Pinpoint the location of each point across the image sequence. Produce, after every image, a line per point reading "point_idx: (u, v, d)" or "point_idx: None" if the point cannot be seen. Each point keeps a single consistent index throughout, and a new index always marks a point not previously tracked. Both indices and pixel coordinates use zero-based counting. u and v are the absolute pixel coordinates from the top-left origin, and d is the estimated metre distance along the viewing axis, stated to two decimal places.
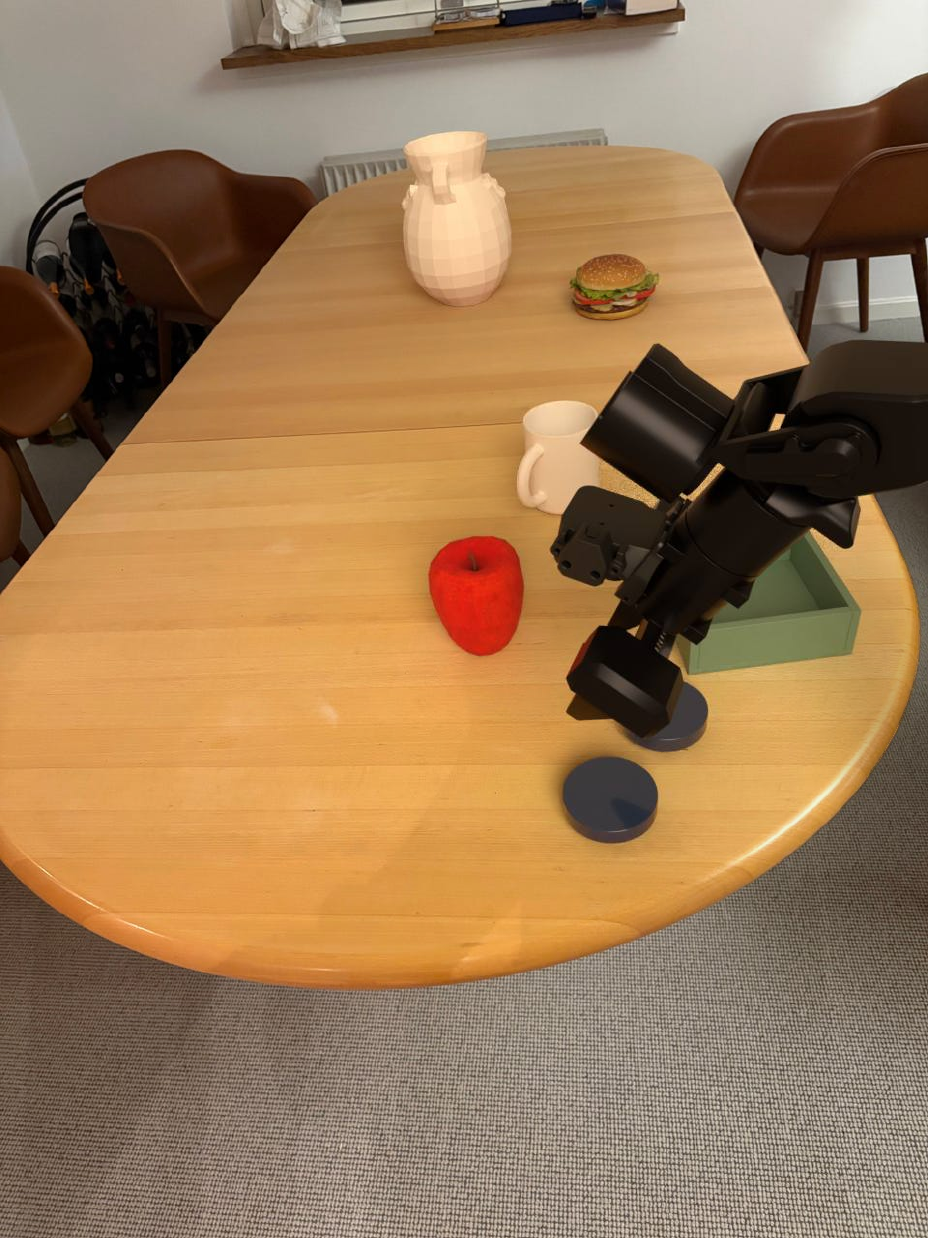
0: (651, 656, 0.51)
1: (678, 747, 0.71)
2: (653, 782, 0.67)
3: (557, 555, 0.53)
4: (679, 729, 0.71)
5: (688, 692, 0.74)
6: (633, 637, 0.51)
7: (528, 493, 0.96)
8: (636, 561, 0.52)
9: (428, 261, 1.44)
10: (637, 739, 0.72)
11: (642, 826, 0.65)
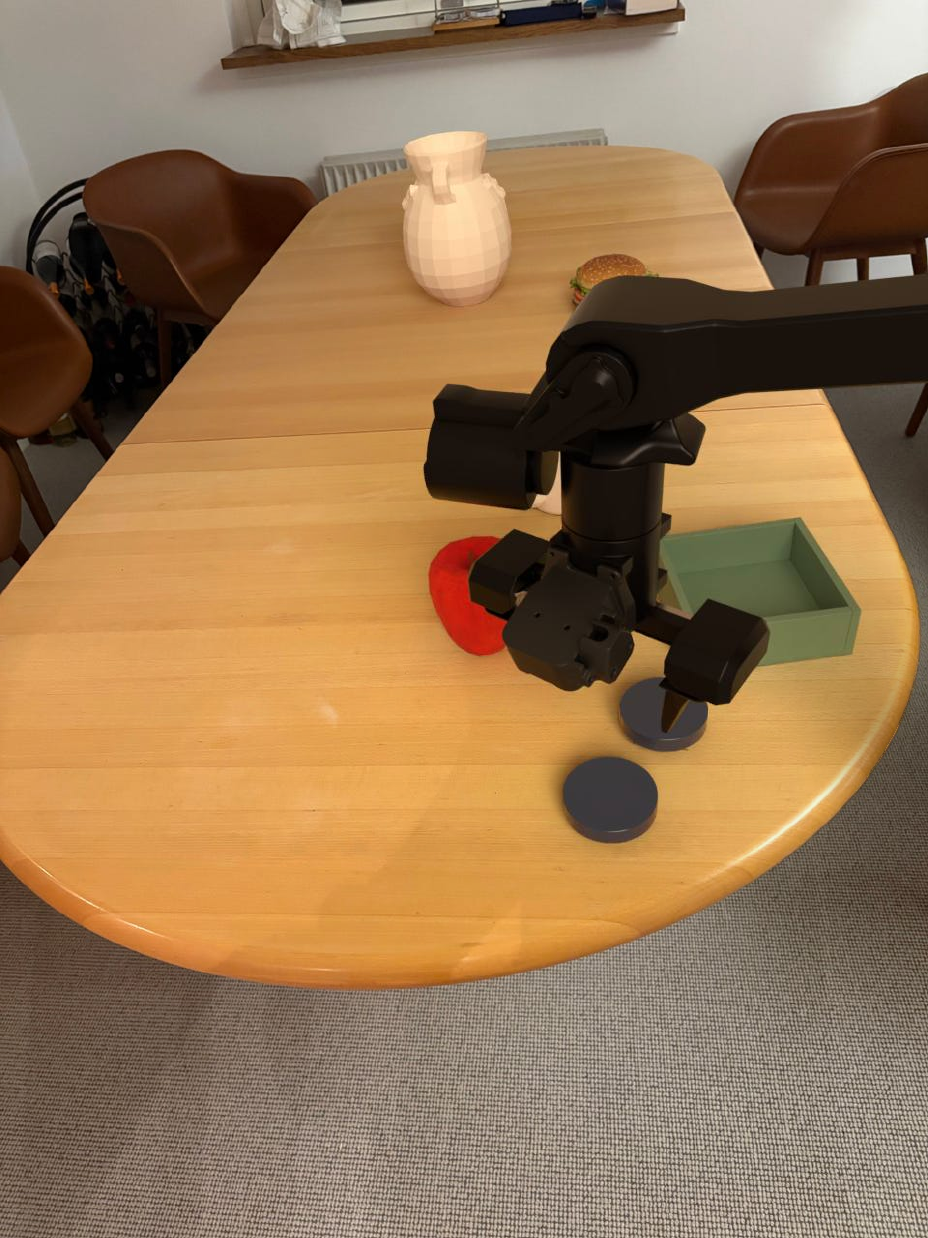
0: (702, 619, 0.51)
1: (678, 747, 0.71)
2: (653, 782, 0.67)
3: (593, 681, 0.48)
4: (679, 729, 0.71)
5: None
6: (683, 630, 0.51)
7: None
8: (614, 604, 0.50)
9: (428, 261, 1.44)
10: (637, 739, 0.72)
11: (643, 826, 0.65)
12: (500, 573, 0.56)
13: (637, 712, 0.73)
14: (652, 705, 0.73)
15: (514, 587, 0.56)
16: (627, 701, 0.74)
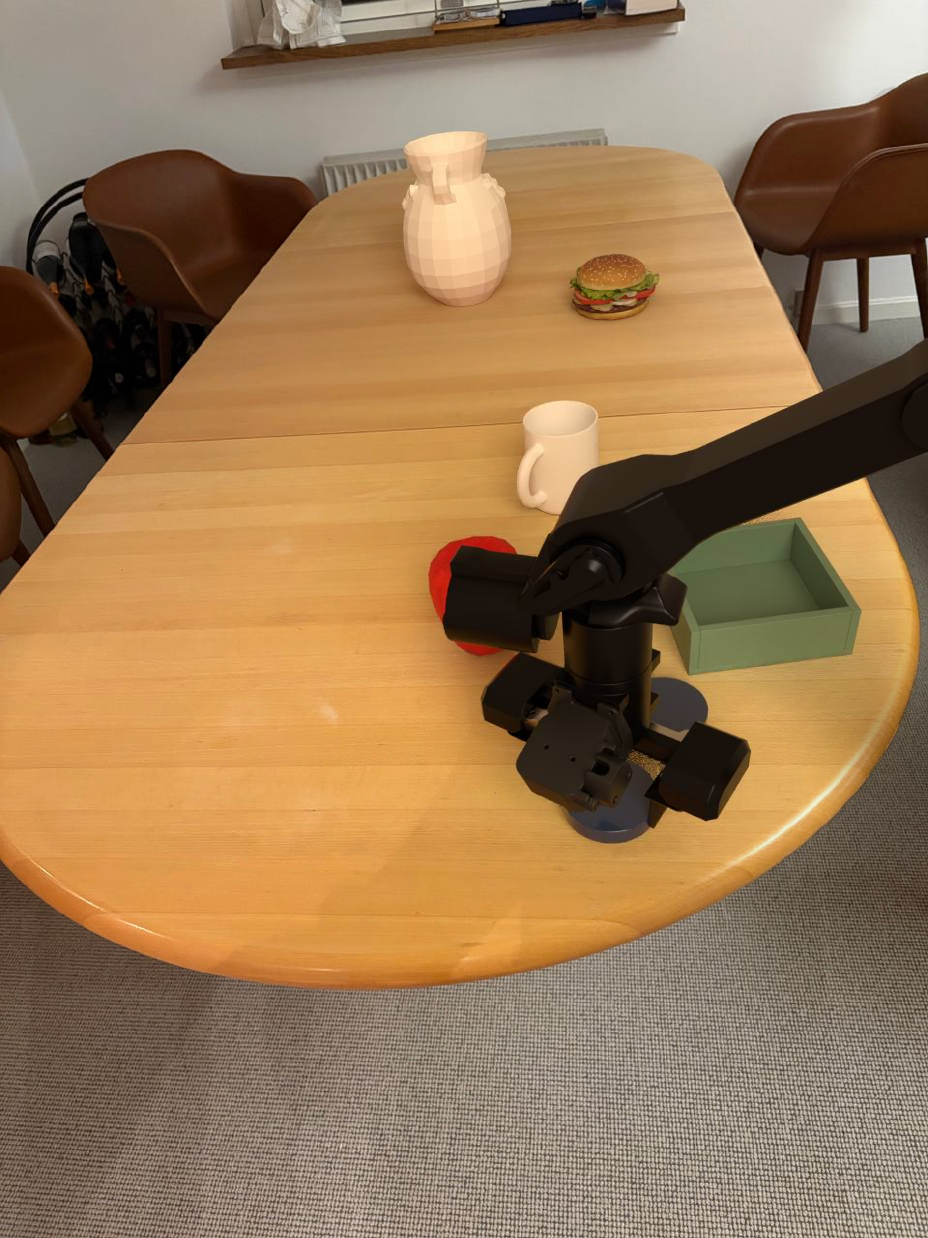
0: (691, 742, 0.58)
1: None
2: None
3: (597, 806, 0.55)
4: (679, 729, 0.71)
5: (688, 692, 0.74)
6: (675, 754, 0.58)
7: (528, 493, 0.96)
8: (613, 736, 0.57)
9: (428, 261, 1.44)
10: None
11: (643, 826, 0.65)
12: (510, 698, 0.63)
13: None
14: None
15: (523, 711, 0.63)
16: None
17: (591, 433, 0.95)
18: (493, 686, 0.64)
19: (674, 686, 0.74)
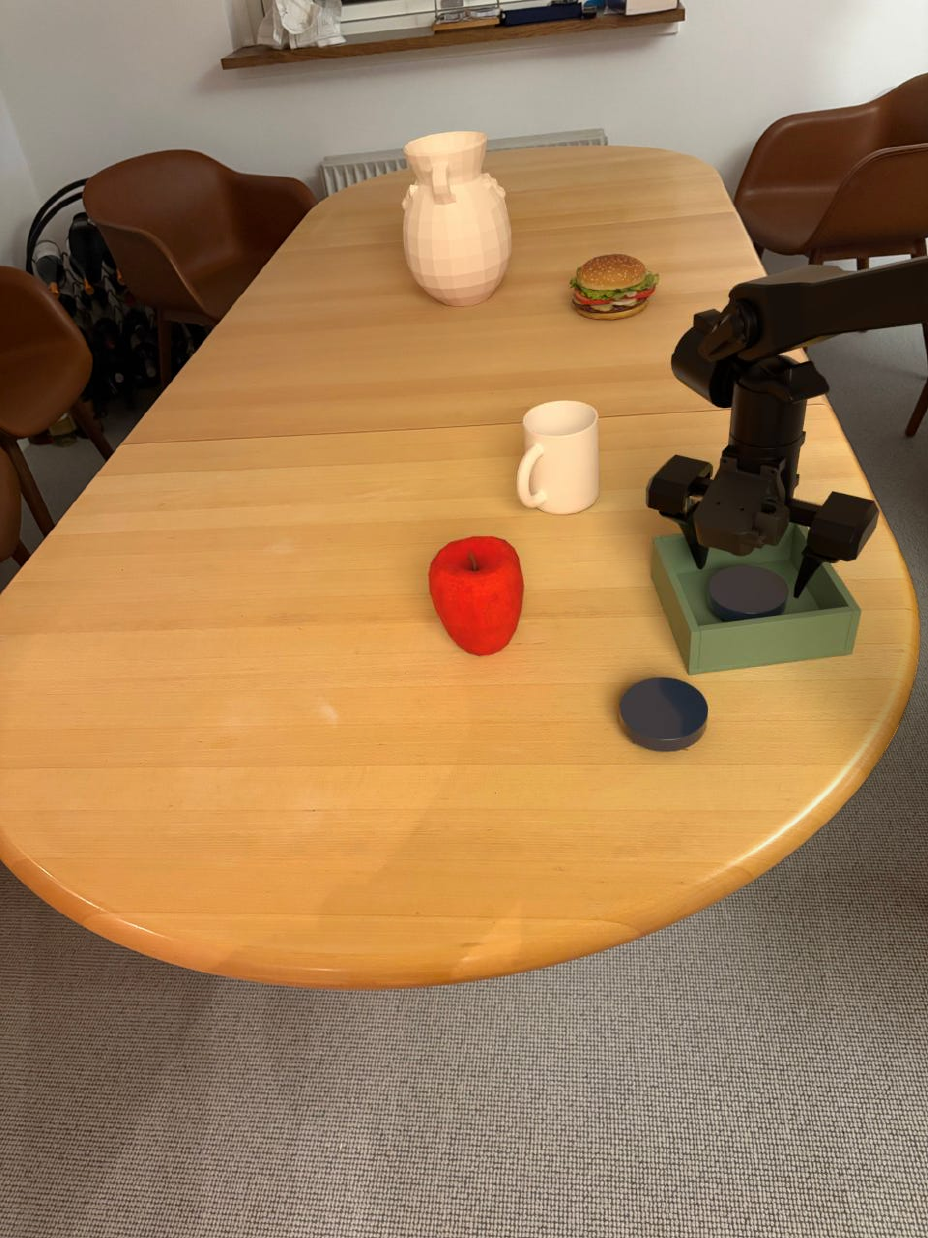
0: (832, 503, 0.72)
1: (678, 747, 0.71)
2: (782, 580, 0.82)
3: (763, 544, 0.69)
4: (679, 729, 0.71)
5: (688, 692, 0.74)
6: (820, 511, 0.72)
7: (528, 493, 0.96)
8: (772, 493, 0.71)
9: (428, 261, 1.44)
10: (637, 739, 0.72)
11: (778, 609, 0.80)
12: (674, 483, 0.77)
13: (637, 712, 0.73)
14: (652, 705, 0.73)
15: (686, 492, 0.77)
16: (627, 701, 0.74)
17: (591, 433, 0.95)
18: (658, 476, 0.78)
19: (674, 686, 0.74)
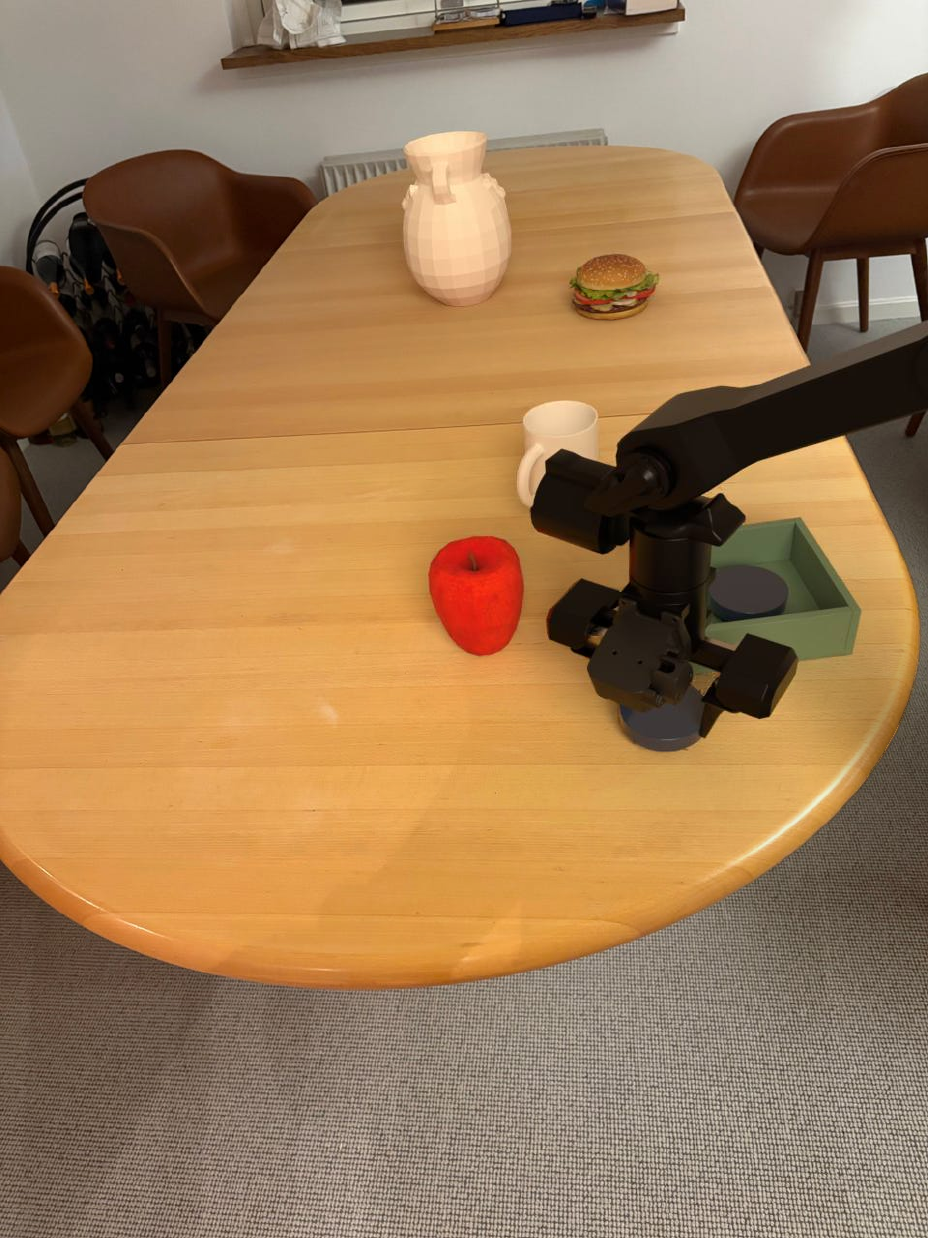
0: (744, 650, 0.64)
1: (678, 747, 0.71)
2: (782, 580, 0.82)
3: (662, 704, 0.61)
4: (680, 729, 0.71)
5: (688, 692, 0.74)
6: (730, 660, 0.64)
7: (528, 493, 0.96)
8: (675, 642, 0.63)
9: (428, 261, 1.44)
10: (637, 739, 0.72)
11: (778, 609, 0.80)
12: (575, 617, 0.69)
13: (637, 712, 0.73)
14: None
15: (587, 628, 0.69)
16: None
17: (591, 433, 0.95)
18: (558, 607, 0.70)
19: None
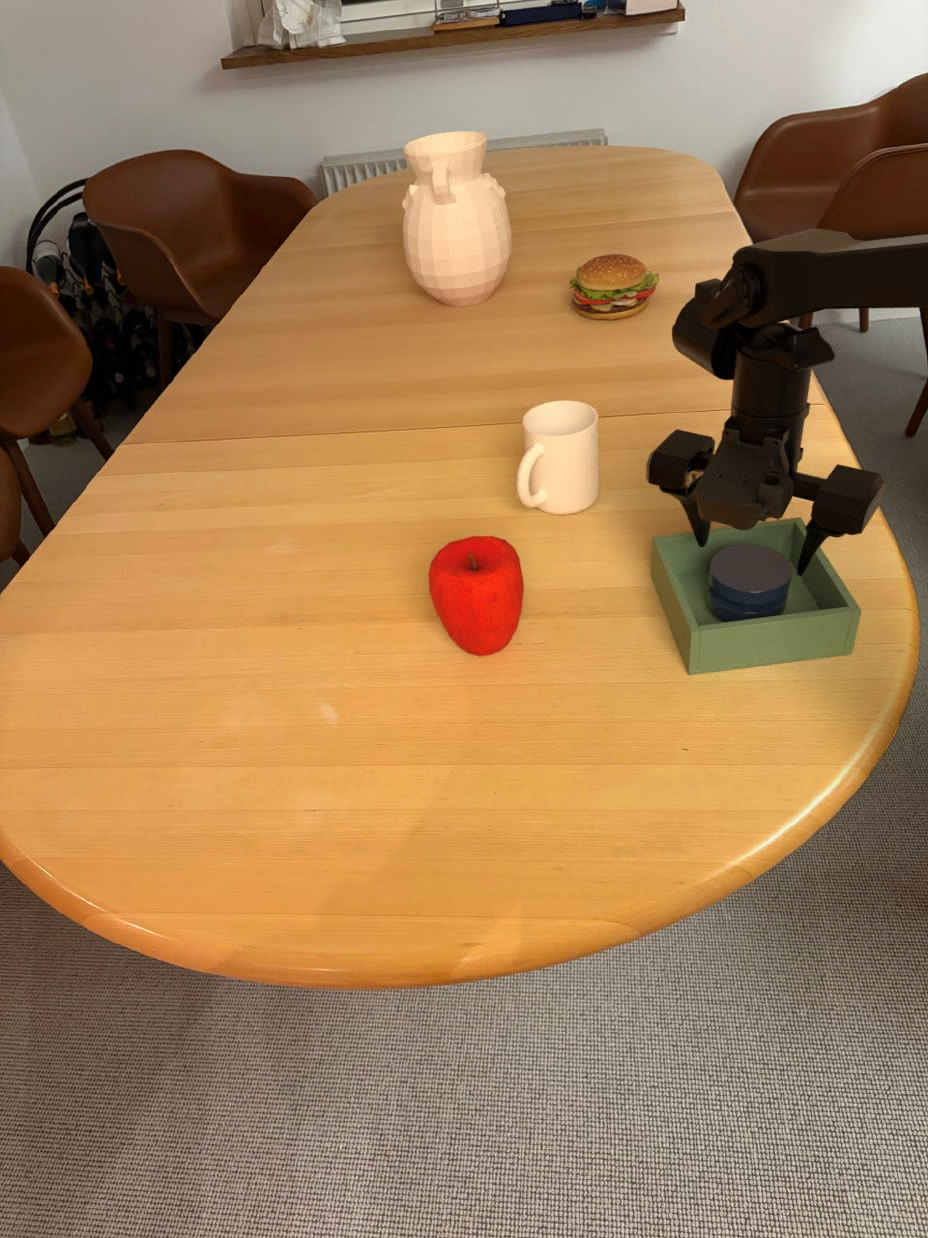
0: (836, 476, 0.71)
1: (767, 600, 0.78)
2: None
3: (766, 517, 0.68)
4: (768, 584, 0.78)
5: (772, 555, 0.81)
6: (824, 484, 0.70)
7: (528, 493, 0.96)
8: (776, 465, 0.69)
9: (428, 261, 1.44)
10: (728, 594, 0.79)
11: (778, 609, 0.80)
12: (675, 458, 0.76)
13: (727, 571, 0.80)
14: (740, 566, 0.81)
15: (687, 467, 0.75)
16: (717, 563, 0.81)
17: (591, 433, 0.95)
18: (659, 451, 0.77)
19: (759, 551, 0.82)
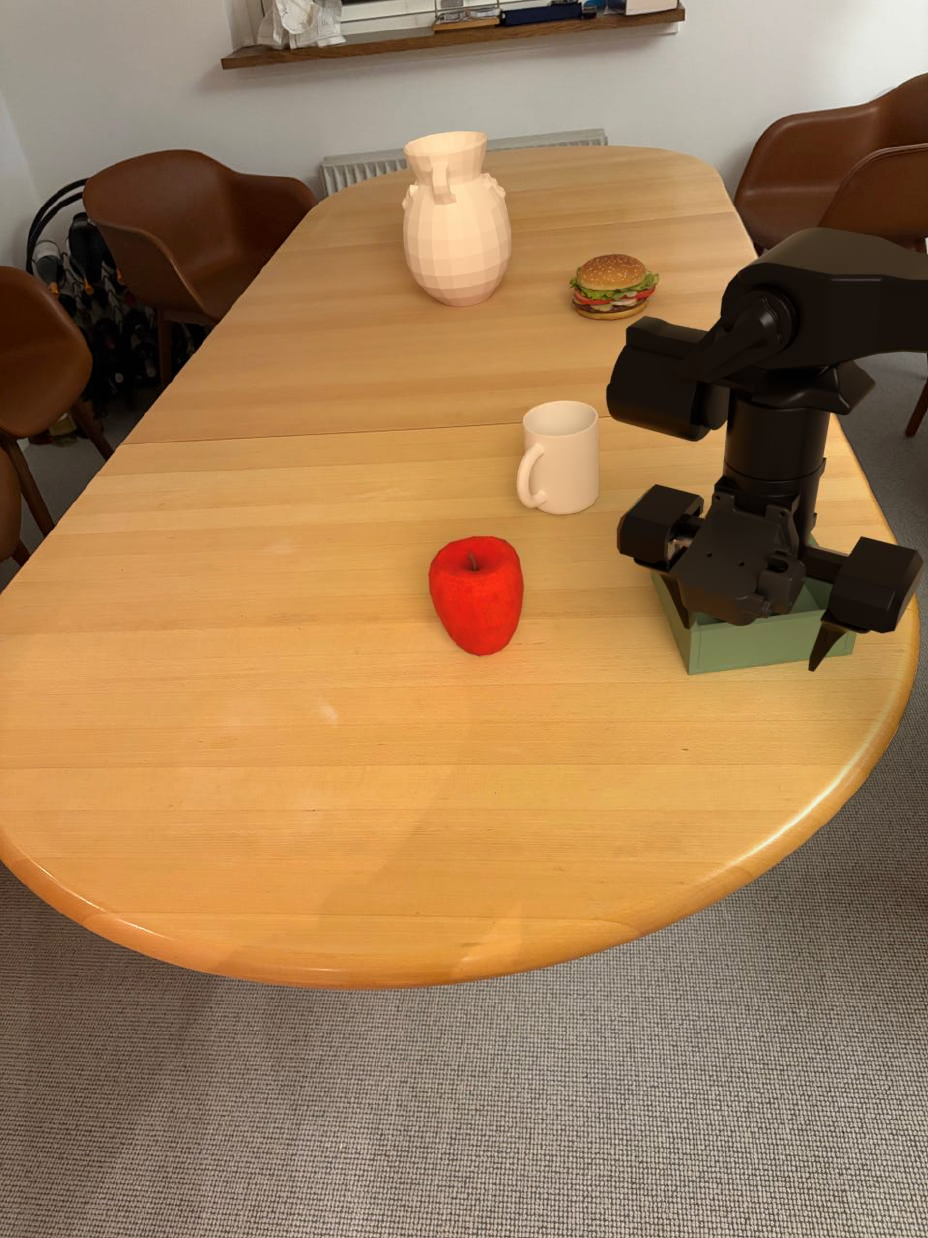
0: (861, 554, 0.54)
1: None
2: None
3: (770, 613, 0.51)
4: None
5: None
6: (845, 564, 0.54)
7: (528, 493, 0.96)
8: (782, 541, 0.53)
9: (428, 261, 1.44)
10: None
11: None
12: (653, 523, 0.59)
13: None
14: None
15: (668, 536, 0.59)
16: None
17: (591, 433, 0.95)
18: (632, 514, 0.60)
19: None
